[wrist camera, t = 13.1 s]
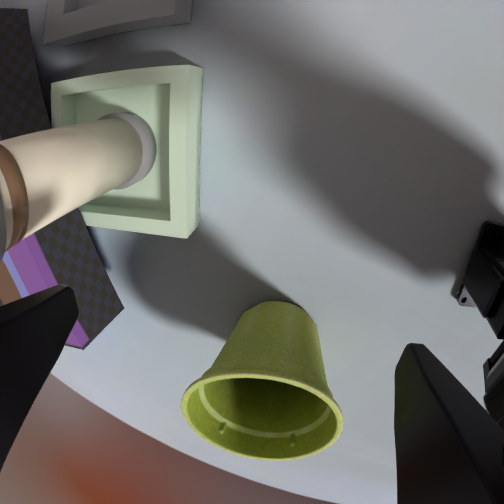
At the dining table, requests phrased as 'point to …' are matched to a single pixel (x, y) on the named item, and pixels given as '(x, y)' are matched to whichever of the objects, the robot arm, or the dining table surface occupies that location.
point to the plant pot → (266, 389)
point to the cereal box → (62, 229)
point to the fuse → (68, 170)
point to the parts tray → (167, 142)
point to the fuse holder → (108, 18)
